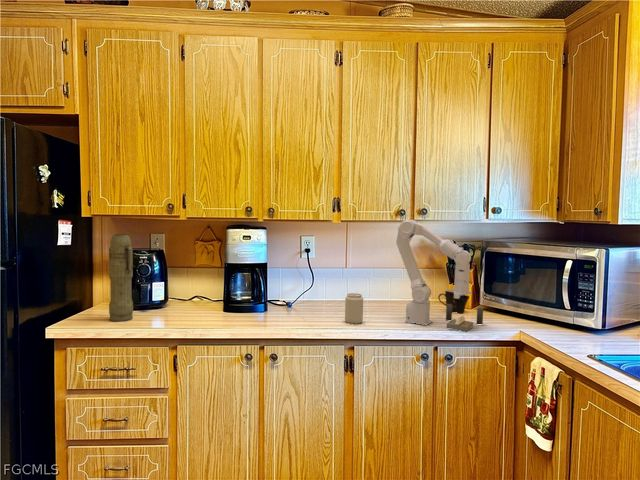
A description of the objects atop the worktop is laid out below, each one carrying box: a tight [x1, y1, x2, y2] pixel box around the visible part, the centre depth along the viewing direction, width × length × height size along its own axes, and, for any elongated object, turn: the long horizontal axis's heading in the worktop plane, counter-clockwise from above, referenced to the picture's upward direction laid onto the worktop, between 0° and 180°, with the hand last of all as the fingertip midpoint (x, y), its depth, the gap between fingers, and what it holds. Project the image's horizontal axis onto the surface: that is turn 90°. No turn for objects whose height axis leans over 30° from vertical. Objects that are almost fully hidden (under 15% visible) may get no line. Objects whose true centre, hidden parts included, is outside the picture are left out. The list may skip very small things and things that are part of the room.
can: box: [344, 292, 364, 325], centre depth 184 cm, size 8×8×12 cm
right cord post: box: [476, 307, 484, 325], centre depth 185 cm, size 2×2×7 cm
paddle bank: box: [455, 315, 466, 325], centre depth 179 cm, size 2×9×2 cm, turn 147°
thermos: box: [108, 233, 134, 323], centre depth 180 cm, size 9×12×35 cm
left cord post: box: [445, 304, 453, 321], centre depth 192 cm, size 2×2×7 cm
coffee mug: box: [438, 288, 457, 312], centre depth 209 cm, size 12×9×10 cm
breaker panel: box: [446, 318, 474, 333], centre depth 180 cm, size 8×10×2 cm
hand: (460, 313), depth 179 cm, fingers closed
